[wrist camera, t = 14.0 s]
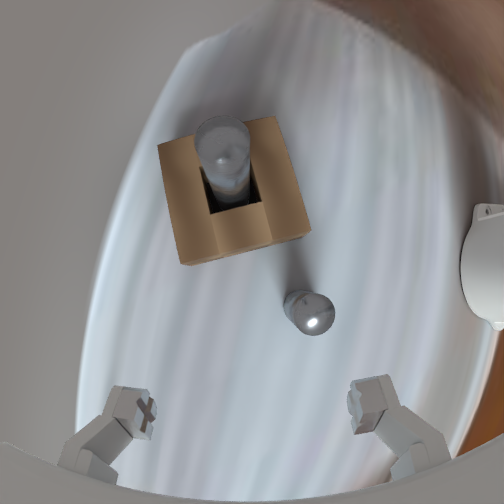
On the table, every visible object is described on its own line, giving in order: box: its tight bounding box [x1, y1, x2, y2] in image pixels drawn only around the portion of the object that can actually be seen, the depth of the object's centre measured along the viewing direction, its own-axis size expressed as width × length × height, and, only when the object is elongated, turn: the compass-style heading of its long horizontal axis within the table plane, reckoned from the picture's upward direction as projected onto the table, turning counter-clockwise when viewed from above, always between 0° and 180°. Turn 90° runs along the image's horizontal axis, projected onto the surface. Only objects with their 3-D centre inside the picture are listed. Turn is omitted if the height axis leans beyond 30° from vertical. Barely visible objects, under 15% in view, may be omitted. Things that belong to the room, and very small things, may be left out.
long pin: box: [194, 116, 250, 211], centre depth 24 cm, size 4×4×14 cm
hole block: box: [157, 116, 311, 266], centre depth 29 cm, size 12×12×5 cm
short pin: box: [284, 290, 335, 336], centre depth 27 cm, size 4×4×7 cm
